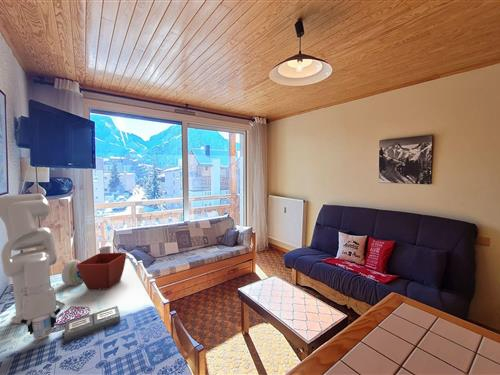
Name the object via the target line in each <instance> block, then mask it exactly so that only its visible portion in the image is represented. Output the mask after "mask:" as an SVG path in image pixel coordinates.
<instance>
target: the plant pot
mask: <svg viewBox="0 0 500 375" xmlns="http://www.w3.org/2000/svg"><path fill="white" fill-rule="evenodd" d="M126 258H127V252H110V253H100V252H99V253H97V254H95V255H93V256H91V257H88V258H87V259H84V260H83V261H80V262H81V263H79V264H77V267H78V270H79V273H80V276H81V278H82V280H83V281H82V283H84V285H85V286H86V289H88V290H90V291H91V290H108V289H111V288H112V287H113V286H115V285H116V284H117V283H118V282H120V281H121V280H122V275H123V273H124V270H125V269H124V268H125V264H126Z"/></svg>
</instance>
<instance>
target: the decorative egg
mask: <svg viewBox="0 0 500 375" xmlns="http://www.w3.org/2000/svg"><path fill="white" fill-rule="evenodd" d="M81 262H82V261H80V260H79V259H71V260H69V261H67V263H66V264H65V265H64V266H63V268H62V272H61V280H62V283H63V284H64V285H65V286H68V285H72V286H76V285H75V284H77V285H79V284H81V283H83V280H82V278H81V276H80V273H79V270H78V267H77V264H79V263H81ZM80 282H81V283H80ZM78 283H79V284H78Z"/></svg>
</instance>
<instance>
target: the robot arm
mask: <svg viewBox="0 0 500 375" xmlns="http://www.w3.org/2000/svg"><path fill="white" fill-rule="evenodd" d="M51 211H52V210H51V204H50V203H49V201H48V199H47V198H46V197H45V196H44V195H43V194H42V193H25V194H24V193H23V194H13V195H12V194H10V195H3V196H0V219H1V221H2V222H3V224H4V225H5V230H6V235H7V241H6V243H5V244H4V245H3V248H2V250H1V254H0V256H1V262H2V268H3V273H4V275H5V276H6V277H8V278H11V281H12V282H11V283H12V290H13V298H14V299H13V300H14V309H15V315H14V316H13V317H12V319H11V323H12V324H19V325H20V324H23V325H25V326H26V327H27V333H29V335H33V328H32V319H33V318H36V317H40V316H43V315H46V314H50V315H51V325H52V328H55V324H57V316H58V314H59V313H60V312H61V310H63V308H64V307H65V305H66V304H65V303H64V302H62V301H59V300H57V297H56V293H55V292H56V291H55V290H54V286H52V284H51V274H50V266H53V265H55V264H56V262H57V260H58V255H57V251H56V246H55V241H54V240H55V239H54V236H53V233H52V230H51V229H50V228H49V227H46V226H43V227H42V226H41V227H39V225H38V222H37V218H42V217H44V218H45V217H48V216H50V214H51ZM34 248H39V249H34ZM30 249H32V250H30ZM33 249H34V250H33ZM25 250H29V251H25ZM12 251H15V252H19V251H24V252H19V253H17V254H13V255H12ZM57 307H58V308H57Z"/></svg>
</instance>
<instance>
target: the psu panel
mask: <svg viewBox="0 0 500 375" xmlns="http://www.w3.org/2000/svg"><path fill="white" fill-rule="evenodd" d="M121 321H122V320H121V314H120V310H119V306H118V305H116V306H112V307H110V308H107V309H103V310H100V311H97V312H93V313H91V314H88V315H84V316H81V317H78V318H76V319H72V320H69V321H66V322H65V325H64V333H63V334H64V335H63V337H64V343H65V342H69V341H71V340H75V339H76V338H80V337H83V336H85V335H88V334H91V333H93V332H97V331H99V330H101V329H104V328H108V327H110V326H113V325H116V324H118V323H121Z"/></svg>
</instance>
